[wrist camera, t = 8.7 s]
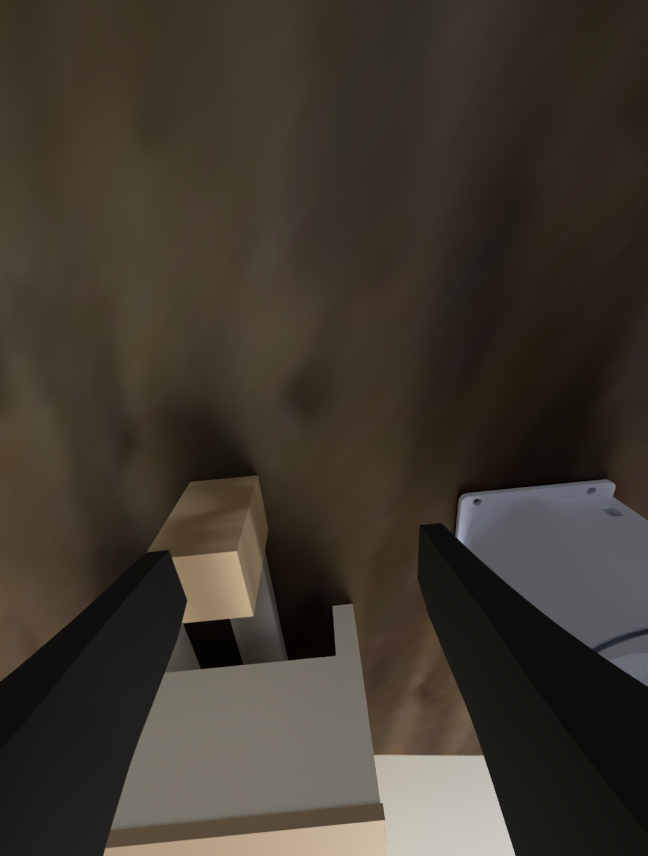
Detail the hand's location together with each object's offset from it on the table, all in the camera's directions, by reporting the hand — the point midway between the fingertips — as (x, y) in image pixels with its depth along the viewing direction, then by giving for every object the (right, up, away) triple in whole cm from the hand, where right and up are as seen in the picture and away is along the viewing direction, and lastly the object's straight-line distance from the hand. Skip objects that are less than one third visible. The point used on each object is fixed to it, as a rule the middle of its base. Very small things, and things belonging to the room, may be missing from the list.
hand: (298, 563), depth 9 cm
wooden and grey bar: (-4, -8, +14) cm, 16 cm away
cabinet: (-4, -14, +16) cm, 22 cm away
